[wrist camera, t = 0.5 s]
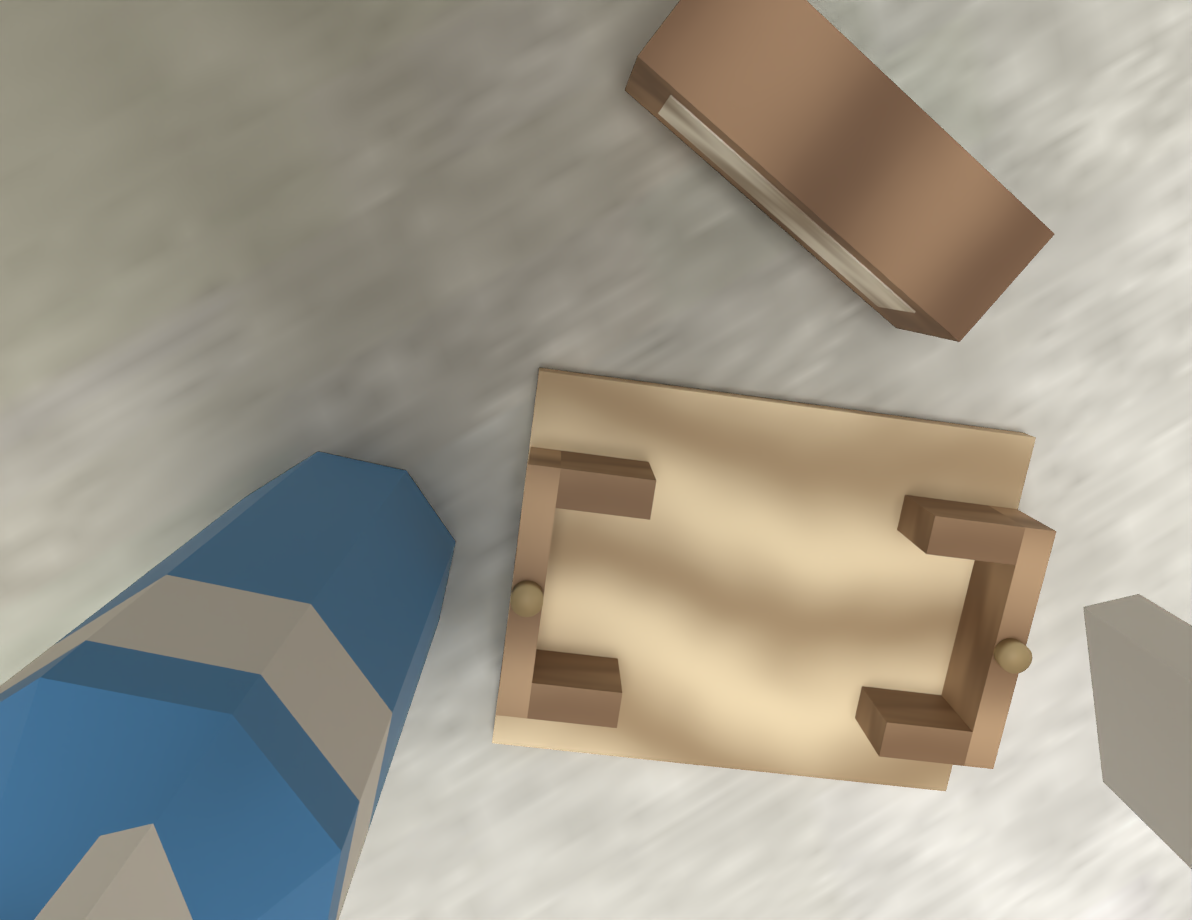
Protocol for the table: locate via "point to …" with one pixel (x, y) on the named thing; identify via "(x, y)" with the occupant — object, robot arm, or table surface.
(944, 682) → the cleat board
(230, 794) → the water bottle
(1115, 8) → the table surface
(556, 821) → the table surface
